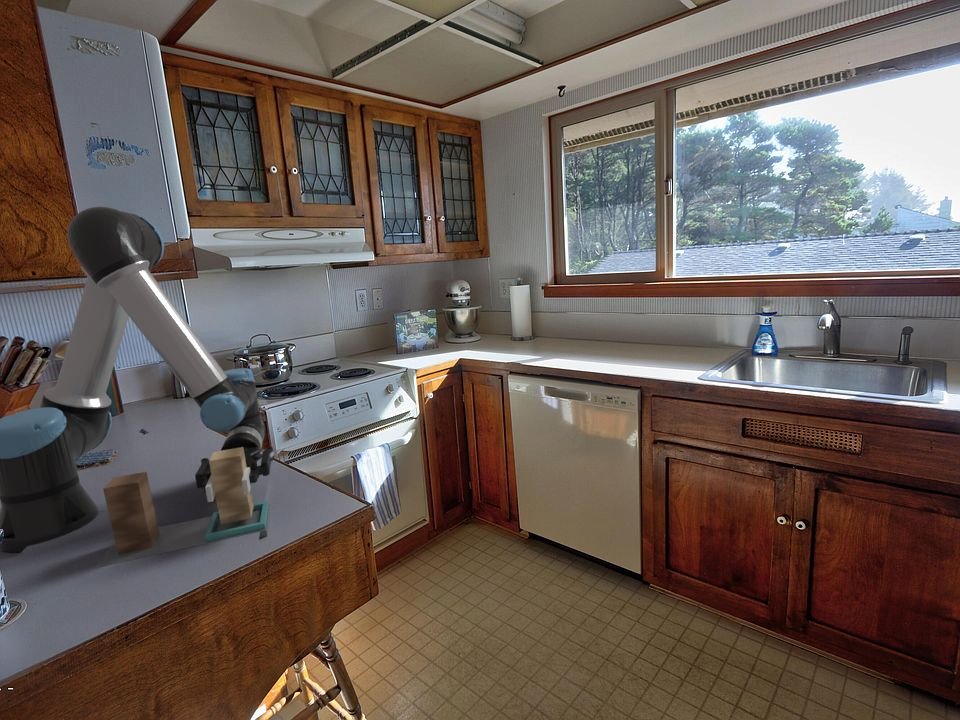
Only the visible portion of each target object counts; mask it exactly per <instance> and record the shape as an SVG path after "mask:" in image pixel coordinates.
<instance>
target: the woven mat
mask: <svg viewBox="0 0 960 720" xmlns="http://www.w3.org/2000/svg"><path fill="white" fill-rule="evenodd" d="M116 453H117V454H116ZM118 453H119V451H117V450H116V449H115V448H113V449H112V448H110V449H108V450H103V451H96V452H88V453H86V454H84V455H83V456H81V457H80V458H78V459H77V460H75V464H76V468H77V471H79V470H85V469H90V468H94V466H95V467H100V466H104V465H103V464H106V465H109V464H108V463H109V462H110V464H112V462H114V459H115V457H116V456H117V455H118ZM113 456H114V457H113ZM112 459H113V460H112ZM99 465H100V466H99ZM89 466H90V468H89ZM84 467H85V468H84Z"/></svg>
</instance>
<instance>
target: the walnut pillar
mask: <svg viewBox="0 0 960 720" xmlns="http://www.w3.org/2000/svg"><path fill="white" fill-rule="evenodd" d="M102 490H103V494H104V498H105V503H106V507H107V511H108V515H109V520H110V525H111V528H112V534H113V538H114V540H115V542H116V547H117V551H118V555H119V554H124V553H129V552H133V551H138V550H142V549H147V548H152V547H153V545H154V543H155V541H156V539H157V538H158V536H159V534H160V533H159V528H158V527H159V525H158V520H157V515H156V510H155V505H154V500H153V496H152V492H151V486H150V482H149V477H148V473H147V471H143V472H137V473H133V474H132V473H131V474H127V475H126V474H125V475H120V476H116V477H112V478H111V480H110V481H109V482H108V483H106V485H105V486H104V487H103V489H102Z"/></svg>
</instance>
